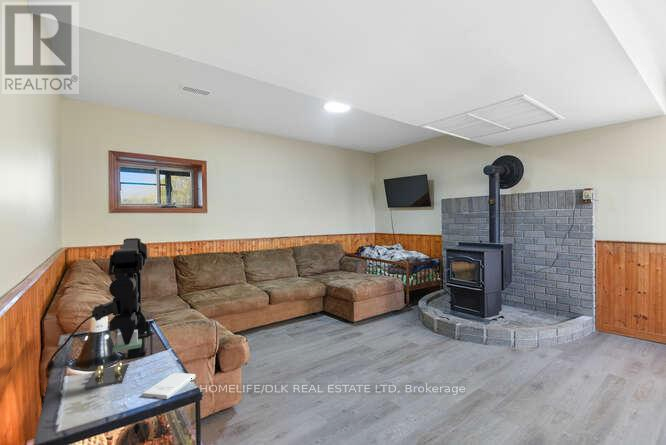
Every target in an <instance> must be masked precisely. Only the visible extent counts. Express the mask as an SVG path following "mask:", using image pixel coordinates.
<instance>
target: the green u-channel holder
mask: <svg viewBox="0 0 666 445" xmlns="http://www.w3.org/2000/svg"><path fill="white" fill-rule="evenodd" d="M116 336H117V338H116V340H117V342H115V343H114V345H113V347H112V353H117V352H123V351H127V350H129V349H135V348H140V347H141V344H142V339H138V330H134V333H133V335H132V338H131V340H130V343H129V344H128V345H125V344H124V341H123V338H122V335H121V332H120V331H119V332H117V334H116Z"/></svg>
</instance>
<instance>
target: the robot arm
mask: <svg viewBox="0 0 666 445" xmlns="http://www.w3.org/2000/svg"><path fill="white" fill-rule="evenodd" d="M148 252H149V250H148V245H147V244H145V243H144V242H142V241H141V238H139V237H132V238H129V237H128V238H124V239H123V244H122V245H121V246H120V248H119V249H115V250H114V251H113V252H112V254H110V256H109V263H108V265H109V266H108V274H107V275H108V276H114V280H112V282H110V285H109V289H108V290H109V293H110V295H111V296H112V297H113V298H112V300H111V301H108V302H106V303H104V304H99V305H96V306H94V307H93V309H91V310H90V312H91V317H92V318H94V320H95V321H96V322H97V321H100V320H102V319H103V318H105V317H108V316H110V315H112V316H113V317H112V318H111V319H110V320H109V321H108V324H109V325H108V327H109V328H108V329H109V330H116V329H117V330H119V332H121V335H122V338H123V341H124V344H125V345H128V344H129V343H130V340H131V338H132V335H133V333H134V330H138V339H142V344H141V347H140V348H135V349H129V350H126V351H127V352H126V354H125V357H124V359H126V360H127V359H133V358H139V357H144V356H146V355H147V352H148V348H146V338H147V339H148V338H149V337H151V336H152V326H151V323H150V322H149V320H147V319H148V318H147V315H146V314H145V312H144V311H143V305H142V302H143V301H142V298H143V296H142V271H143V269H144V268H145V266H146V264H147V260H148V258H149V253H148Z"/></svg>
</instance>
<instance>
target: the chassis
mask: <svg viewBox="0 0 666 445" xmlns="http://www.w3.org/2000/svg"><path fill="white" fill-rule="evenodd" d="M128 366H129V367H130V364H129V363H126V364H123V362H122V361H119V362H116V365H114V366H109V367H108V366H107V367H104V365H103V364H102V365H98V366H97V369H96V370H95V371H94V373H93V375H92V377H91V378H90V380H89V381H88V382H87V385H86V386H85V391H89V390H93V389H97V388H103V387H108V386H113V385H112V384H114V385H117V383H119V384H123V383H124V380H125V378H124V376H125V377H126V375H125V374H127V372H128V370H127V368H128V369H129V367H128ZM126 371H127V372H126ZM123 379H124V380H123ZM122 382H123V383H122Z"/></svg>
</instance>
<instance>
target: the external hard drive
mask: <svg viewBox="0 0 666 445" xmlns="http://www.w3.org/2000/svg"><path fill="white" fill-rule="evenodd" d="M196 377H197V376H196V374H195V373H185V372H172V373H170V374H169V375H167V376H166V377H164V378H163V379H161V380H160V381H159V382H157V383H156V384H154V385H152V386H151V387H149V388H148V389H147V390H144V391H143V392H142V393H141V397H143V398H156V399H162V400H168V399H169V398H171V397H173V395H175V394H176V393H177V392H179V391H180V390H182V389H183V388H184V387H186V385H188V384H190V383H191V382H192V381H193V380H195V379H196ZM191 378H192V379H191ZM191 380H192V381H191ZM190 381H191V382H190Z"/></svg>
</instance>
